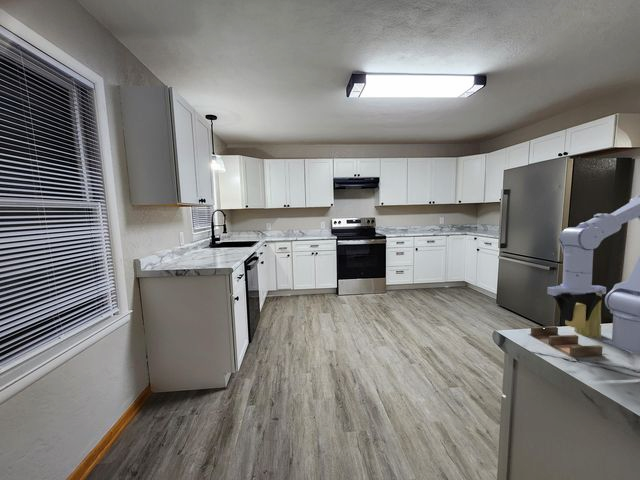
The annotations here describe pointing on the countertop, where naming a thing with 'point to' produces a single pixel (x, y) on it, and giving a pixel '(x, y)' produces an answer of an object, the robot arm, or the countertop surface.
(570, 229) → the robot arm
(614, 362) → the countertop surface
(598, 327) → the vase
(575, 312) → the peg
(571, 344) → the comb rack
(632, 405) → the countertop surface
